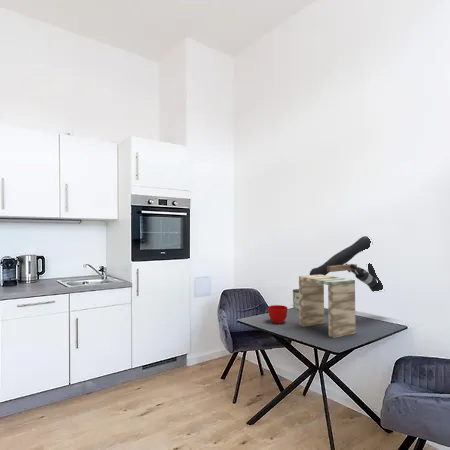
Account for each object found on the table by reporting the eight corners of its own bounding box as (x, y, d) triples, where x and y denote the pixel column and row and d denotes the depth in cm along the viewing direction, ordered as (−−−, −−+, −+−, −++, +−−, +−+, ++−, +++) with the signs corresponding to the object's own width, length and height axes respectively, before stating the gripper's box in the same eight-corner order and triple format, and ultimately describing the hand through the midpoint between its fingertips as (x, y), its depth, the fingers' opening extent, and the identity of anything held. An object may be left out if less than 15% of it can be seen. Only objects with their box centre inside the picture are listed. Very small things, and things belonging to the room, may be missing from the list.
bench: (299, 325, 225) (298, 276, 225) (319, 321, 234) (319, 274, 234) (333, 337, 199) (333, 282, 199) (355, 333, 207) (354, 280, 207)
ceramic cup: (286, 318, 243) (286, 304, 243) (288, 324, 226) (288, 309, 226) (267, 317, 244) (267, 303, 244) (268, 324, 227) (268, 309, 227)
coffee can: (304, 306, 279) (304, 288, 279) (307, 309, 268) (307, 291, 269) (291, 306, 279) (291, 289, 279) (294, 309, 268) (294, 291, 268)
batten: (327, 271, 220) (326, 266, 220) (352, 268, 231) (352, 264, 231) (331, 271, 216) (331, 266, 216) (357, 269, 227) (357, 264, 227)
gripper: (357, 270, 240) (341, 259, 233) (374, 272, 228) (359, 260, 221) (353, 280, 238) (338, 269, 231) (371, 282, 226) (355, 271, 219)
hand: (348, 265), depth 226 cm, fingers closed on batten, 4 cm apart
